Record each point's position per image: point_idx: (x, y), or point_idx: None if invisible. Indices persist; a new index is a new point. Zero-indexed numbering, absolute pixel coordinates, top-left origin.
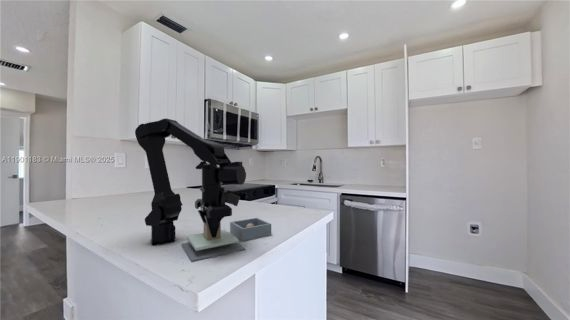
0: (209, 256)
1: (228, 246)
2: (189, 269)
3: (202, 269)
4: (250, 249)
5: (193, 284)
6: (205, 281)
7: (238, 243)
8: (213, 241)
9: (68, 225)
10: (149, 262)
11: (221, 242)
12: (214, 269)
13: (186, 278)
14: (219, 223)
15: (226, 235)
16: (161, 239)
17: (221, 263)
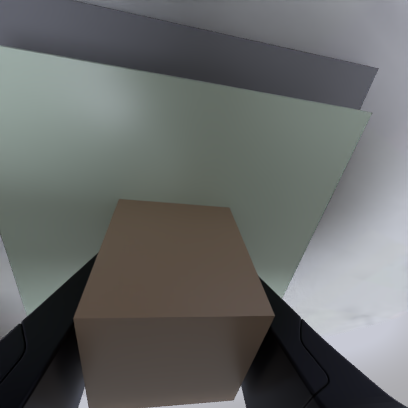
0: None
1: None
2: (302, 310)
3: (336, 287)
4: (392, 23)
5: (380, 315)
6: (398, 296)
7: (265, 48)
8: (252, 260)
9: None
10: None
11: (310, 234)
12: (372, 264)
13: (340, 321)
14: (334, 354)
15: (202, 143)
16: None
17: (361, 235)
